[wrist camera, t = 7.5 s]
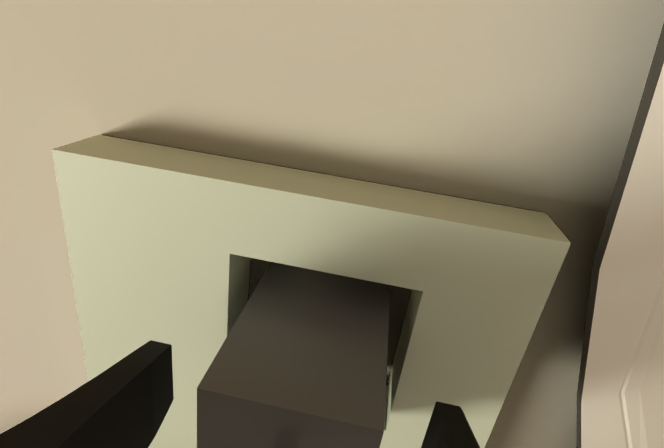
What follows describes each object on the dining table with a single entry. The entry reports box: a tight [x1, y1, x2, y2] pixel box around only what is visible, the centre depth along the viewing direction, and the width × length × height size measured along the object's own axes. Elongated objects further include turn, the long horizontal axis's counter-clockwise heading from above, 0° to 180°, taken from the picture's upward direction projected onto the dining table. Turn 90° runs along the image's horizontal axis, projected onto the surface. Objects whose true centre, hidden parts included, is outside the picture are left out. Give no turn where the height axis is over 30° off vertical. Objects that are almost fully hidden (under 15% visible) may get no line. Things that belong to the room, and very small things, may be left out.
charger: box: [197, 262, 390, 448], centre depth 12 cm, size 4×4×7 cm
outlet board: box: [52, 135, 571, 448], centre depth 15 cm, size 14×14×2 cm
